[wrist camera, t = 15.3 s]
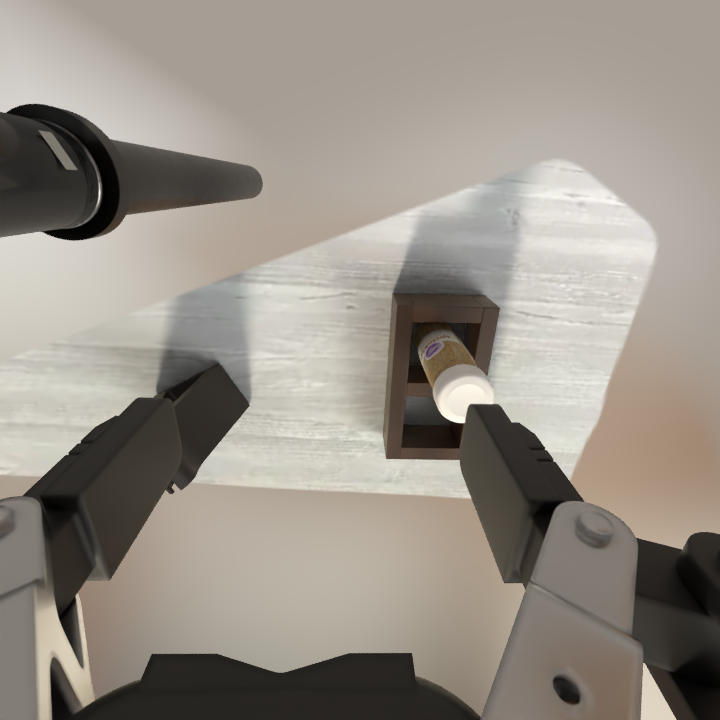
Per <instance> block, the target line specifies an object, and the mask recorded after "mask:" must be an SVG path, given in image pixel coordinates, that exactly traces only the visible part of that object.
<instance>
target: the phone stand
mask: <svg viewBox="0 0 720 720" xmlns="http://www.w3.org/2000/svg"><path fill="white" fill-rule="evenodd" d="M154 398H169V399H171V401H172V402H173V405H174V409H175V414H176V419H177V424H178V429H179V434H180V439H181V444H182V457H181V462H180V465H179V468H178V470H177V472H176V473H175V475H174V476H173V478H172V480H171V481H170V483H169V485H168V486H167V488H166V491H167V492H168V493H169V494H173V493H174V490H173V489H172V486H173V484H174V483H175V484H176V485H177V487H178V488H179V489H180V490H182V489H183V488H185V487H186V486H187V485H188V484H189V483H190V482H191V481H192V480H193V479H194V478H195V476H196V474H197V472H198V469H199V468H200V466H201V464H202V463H203V462H204V460H205V459H206V458H207V457H208V456H209V454H210V453H211V452H212V451H213V449H214V448H215V447H216V446H217V445H218V443H219V442H220V441H221V440H222V438H223V437H224V436H225V435H226V434H227V432H228V431H229V430H230V429H231V427H232V426H233V425H234V424H235V423H236V421H237V420H238V419H239V418H240V417H241V415H242V414H243V413H244V412H245V410H246V409H247V408H248V407H249V403H248V402H247V401H246V399H245V398H244V396H243V395H242V394H241V392H240V391H239V390H238V388H237V387H236V385H235V384H234V383H233V381H232V380H231V379H230V377H229V376H228V374H227V373H226V372H225V370H224V369H223V368H222V366H221V365H220V364H217V365H215V366H213V367H211V368H209V369H207V370H205V371H203V372H201V373H199V374H197V375H195V376H193V377H191V378H189V379H188V380H185V381H183V382H181V383H179V384H177V385H175V386H173V387H171V388H169V389H167V390H165V391H163V392H161V393H159V394H157V395H155V396H154Z"/></svg>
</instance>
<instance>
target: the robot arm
mask: <svg viewBox="0 0 720 720" xmlns="http://www.w3.org/2000/svg"><path fill="white" fill-rule="evenodd" d="M105 197H106V184H105V178H104V174H103V171H102V169H101V166H100V164H99V162H98V160H97V158H96V156H95V155H94V153H93V152H92V151H91V149H90V148H89V147H88V146H87V144H86V143H85V142H84V141H83V140H82V139H81V138H80V137H78V136H77V135H76V134H75V133H73V132H72V131H70V130H69V129H67V128H65V127H63V126H61V125H59V124H57V123H54V122H50V121H46V120H41V119H34V118H25V117H20V116H17V115H12V114H7V113H2V112H0V237H6V236H13V235H20V234H26V233H33V232H39V231H47V230H55V229H68V228H75V227H80V226H84V225H86V224H88V223H90V222H91V221H93V220H94V219H95V218H96V217H97V216H98V215H99V213H100V212H101V210H102V208H103V205H104V202H105ZM181 457H182V444H181V439H180V434H179V429H178V424H177V419H176V414H175V409H174V405H173V402H172V401H171V399H169V398H137V399H136V400H134V401H133V402H132V403H131V404H130V405H129V406H128V407H127V408H126V409H125V410H124V411H123V412H122V413H121V414H120V415H119V416H115V417H113V418H111V419H109V420H107V421H106V422H104V423H102V424H100V425H98V426H97V427H95V428H94V429H93V430H92V431H91V432H90V433H89V434H88V435H87V436H85V437H84V438H83V439H82V440H81V443H80V444H77V445H76V446H75V447H74V448H73V449H72V450H71V451H70V452H69V455H65V456H64V457H63V458H62V459H61V460H60V461H59V462H58V463H57V464H56V465H55V466H54V467H53V468H52V469H51V470H49V471H48V472H47V473H46V474H45V475H44V476H43V477H42V478H41V479H40V480H39V481H38V482H37V483H36V484H35V485H34V486H32V488H31V489H29V490H28V491H27V492H26V493H25V494H24V495H23V496H18V497H9V498H5V499H1V500H0V720H640V718H641V697H642V696H641V695H642V675H643V663H645V664H646V665H647V668H648V669H649V671H650V673H651V675H652V676H653V678H654V680H655V682H656V684H657V685H658V687H659V689H660V691H661V692H662V694H663V696H664V698H665V700H666V701H667V703H668V705H669V707H670V709H671V710H672V712H673V714H674V716H675V717H676V719H677V720H720V534H715V533H709V532H700V533H695V534H693V535H691V536H690V537H689V539H688V540H687V542H686V544H685V546H684V548H683V550H681V549H677V548H673V547H669V546H666V545H662V544H658V543H654V542H650V541H646V540H642V539H639V538H636V537H635V536H634V534H633V532H632V531H631V529H630V528H629V527H628V526H627V525H626V524H625V523H624V522H623V521H622V520H621V519H619V518H618V517H617V516H615V515H614V514H612V513H610V512H609V511H607V510H605V509H603V508H601V507H599V506H596V505H593V504H590V503H586V502H584V500H583V499H582V498H581V496H580V495H579V494H578V492H577V491H576V489H575V488H574V487H573V485H572V484H571V483H570V481H569V480H568V478H567V477H566V476H565V474H564V473H563V472H562V470H561V469H560V468H559V466H558V465H557V464H556V462H553V458H552V457H551V455H550V454H549V453H548V451H547V450H545V447H544V446H543V445H542V443H541V442H540V440H539V439H538V438H537V436H536V435H535V434H534V433H532V432H531V431H530V430H528V429H527V428H526V427H524V426H523V425H521V424H520V423H512V422H511V421H510V419H509V418H508V416H507V415H506V413H505V412H504V410H503V409H502V408H501V406H500V405H498V404H470V405H469V406H468V409H467V413H466V419H465V425H464V431H463V436H462V442H461V448H460V466H461V471H462V474H463V477H464V480H465V482H466V485H467V487H468V490H469V493H470V495H471V498H472V501H473V503H474V506H475V508H476V511H477V514H478V516H479V519H480V521H481V524H482V527H483V529H484V532H485V534H486V537H487V540H488V542H489V545H490V547H491V550H492V553H493V555H494V558H495V561H496V563H497V566H498V568H499V571H500V573H501V576H502V579H503V581H504V583H523V585H524V587H525V590H526V591H525V594H524V596H523V600H522V602H521V605H520V608H519V611H518V613H517V616H516V619H515V622H514V625H513V628H512V631H511V634H510V636H509V639H508V642H507V645H506V648H505V650H504V653H503V656H502V659H501V662H500V665H499V668H498V671H497V674H496V676H495V679H494V682H493V685H492V688H491V690H490V693H489V696H488V699H487V702H486V705H485V707H484V710H483V713H482V716H481V717H480V716H479V715H478V714H477V713H476V712H475V711H474V710H473V709H472V708H471V707H469V706H468V705H467V704H465V703H464V702H463V701H462V700H460V699H459V698H458V697H457V696H455V695H454V694H452V693H450V692H449V691H447V690H445V689H444V688H442V687H441V686H439V685H437V684H434V683H432V682H430V681H428V680H426V679H423V678H420V677H417V676H415V673H414V665H413V657H412V653H349V654H346V655H342V656H339V657H335V658H333V659H329V660H326V661H322V662H319V663H315V664H312V665H309V666H305V667H302V668H299V669H296V670H292V671H289V672H285V673H276V672H272V671H269V670H266V669H263V668H260V667H256V666H253V665H250V664H247V663H244V662H241V661H238V660H234V659H231V658H228V657H225V656H222V655H219V654H152V655H151V657H150V660H149V662H148V664H147V667H146V669H145V671H144V674H143V676H142V678H141V680H137V681H134V682H132V683H129V684H127V685H124V686H122V687H120V688H117V689H115V690H113V691H111V692H109V693H107V694H106V695H104V696H102V697H100V698H98V699H96V697H95V694H94V690H93V686H92V681H91V675H90V667H89V660H88V653H87V646H86V638H85V630H84V623H83V615H82V608H81V602H80V598H79V596H78V591H79V590H80V589H81V587H82V585H83V584H84V583H85V581H86V580H87V581H89V580H91V581H103V580H104V581H106V580H107V581H109V580H110V579H111V578H112V576H113V574H114V573H115V571H116V570H117V568H118V566H119V565H120V563H121V561H122V560H123V558H124V556H125V555H126V553H127V551H128V550H129V548H130V547H131V545H132V543H133V542H134V540H135V539H136V537H137V535H138V534H139V532H140V530H141V529H142V527H143V525H144V524H145V522H146V521H147V519H148V517H149V516H150V514H151V512H152V511H153V509H154V507H155V506H156V504H157V503H158V501H159V499H160V498H161V496H162V494H163V493H164V491H165V490H166V488H167V486H168V485H169V483H170V481H171V480H172V478H173V476H174V475H175V473H176V472H177V470H178V468H179V465H180V462H181Z"/></svg>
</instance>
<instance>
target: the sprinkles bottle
mask: <svg viewBox="0 0 720 720" xmlns="http://www.w3.org/2000/svg"><path fill="white" fill-rule="evenodd" d="M413 342H414V346H415V348H416V350H417V351H418V354H419V358H420V361H421V363H422V366H423V368H424V371H425V373H426V375H427V378H428V380H429V383H430V384H431V386H432V389H433V397H434V400H435V403H436V405H437V407H438V410H439V411H440V413H441V414H442V415H443V416H444V417H445V418H446V419H448V420H450V421H453V422H456V423H465V419H466V413H467V409H468V406H469V405H470V404H493V402H494V389H493V386H492V384H491V382H490V381H489V379H488V378H487V376H486V375H485V373H484V372H483V371H482V370H481V369H479V368H478V367H477V365H476V364H475V361H474V359H473V358H472V356H471V355H470V353H469V352H468V350H467V349H466V347H465V346H464V345H463V343H462V342H461V340H460V339H459V338H458V337H457V336H456V335H455V333H454V330H453V328H452V327H451V325H450V324H449V323H440V322H423V323H422V324H420V325H419V326H418V328H417V329H416V331H415V333H414V338H413Z"/></svg>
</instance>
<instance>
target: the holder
mask: <svg viewBox="0 0 720 720" xmlns="http://www.w3.org/2000/svg"><path fill="white" fill-rule="evenodd" d="M499 311H500V308H499V307H498V306H497V305H496V304H495V303H493V302H492V301H491V300H490V299H488V298H487V297H486V296H485V295H447V294H407V293H393V294H392V309H391V324H390V339H389V354H388V369H387V384H386V399H385V414H384V429H383V439H384V447H385V455H386V459H431V460H460V448H461V442H462V436H463V431H464V425H465V423H456V422H453V421H451V424H450V426H447V425H403V422H404V411H405V401H406V396H425V397H433V389H432V386H431V384H430V383H429V380H428V378H427V375H426V373H425V371H424V368H423V366H422V365H409V357H410V346H411V335H412V324H413V322H440V323H466V326H465V333H464V339H463V345H464V346H465V347H466V349H467V350H468V352H469V353H470V355H471V356H472V358H473V359H474V361H475V364H476V365H477V367H478V368H479V369H481V370H482V371H483V372H484V373H485V375H486V376H487V374H488V369H489V364H490V358H491V353H492V348H493V342H494V337H495V332H496V327H497V321H498V316H499Z"/></svg>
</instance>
